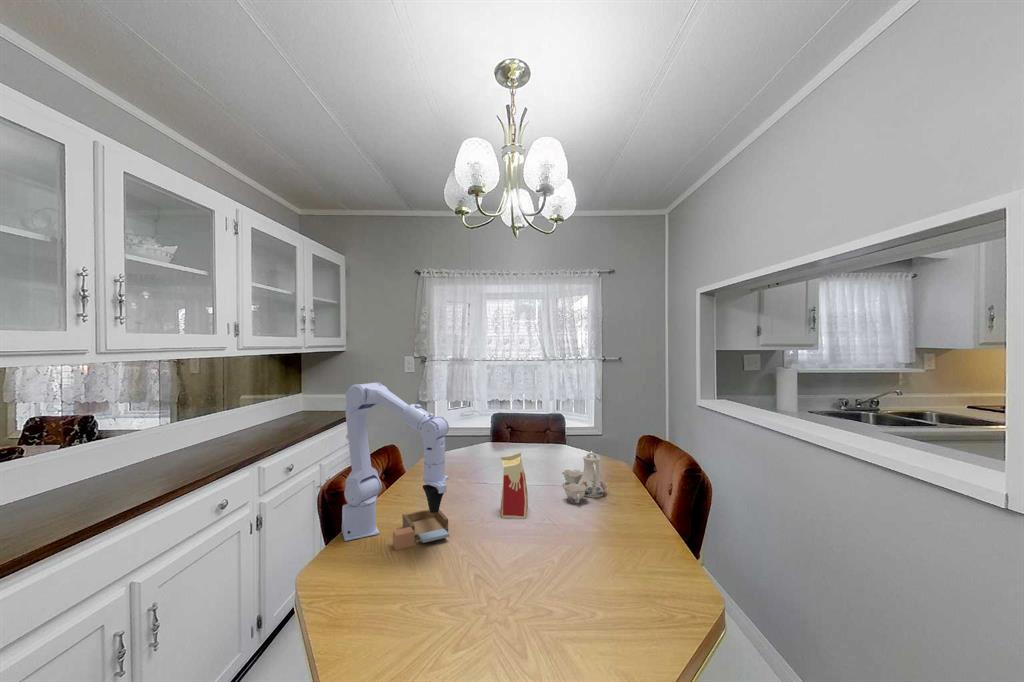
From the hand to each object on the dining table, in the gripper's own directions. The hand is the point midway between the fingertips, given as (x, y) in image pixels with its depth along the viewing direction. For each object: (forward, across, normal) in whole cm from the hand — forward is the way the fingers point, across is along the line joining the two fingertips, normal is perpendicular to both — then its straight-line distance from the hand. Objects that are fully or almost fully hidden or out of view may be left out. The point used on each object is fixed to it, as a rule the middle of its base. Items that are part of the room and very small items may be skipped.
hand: (434, 511), depth 111 cm
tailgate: (+8, +5, -1) cm, 9 cm away
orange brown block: (+10, +4, +7) cm, 13 cm away
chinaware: (+10, +13, -62) cm, 64 cm away
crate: (+9, +10, -1) cm, 14 cm away
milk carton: (+10, +9, -30) cm, 33 cm away
